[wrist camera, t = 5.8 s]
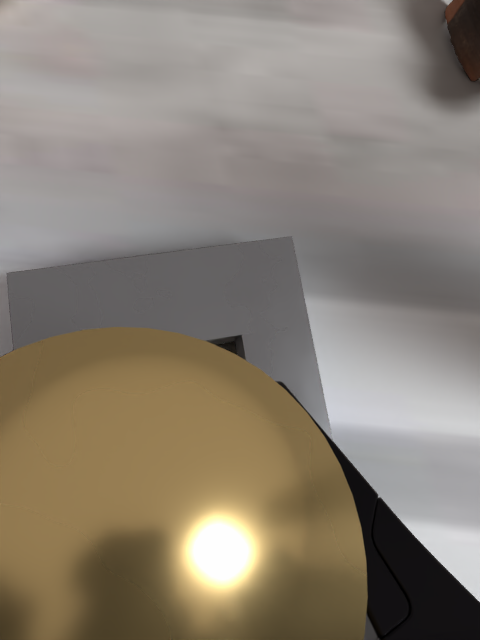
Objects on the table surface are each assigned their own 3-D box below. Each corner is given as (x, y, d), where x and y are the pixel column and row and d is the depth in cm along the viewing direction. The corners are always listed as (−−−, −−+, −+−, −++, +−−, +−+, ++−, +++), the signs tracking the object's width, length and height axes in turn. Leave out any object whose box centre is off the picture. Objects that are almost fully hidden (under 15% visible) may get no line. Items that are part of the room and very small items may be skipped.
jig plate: (331, 536, 17) (359, 569, 14) (71, 601, 16) (40, 654, 13) (277, 257, 19) (291, 236, 16) (39, 290, 17) (6, 273, 14)
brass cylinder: (246, 466, 15) (420, 807, 3) (134, 490, 14) (-183, 1027, 2) (228, 356, 16) (313, 294, 4) (119, 375, 15) (-191, 372, 3)
